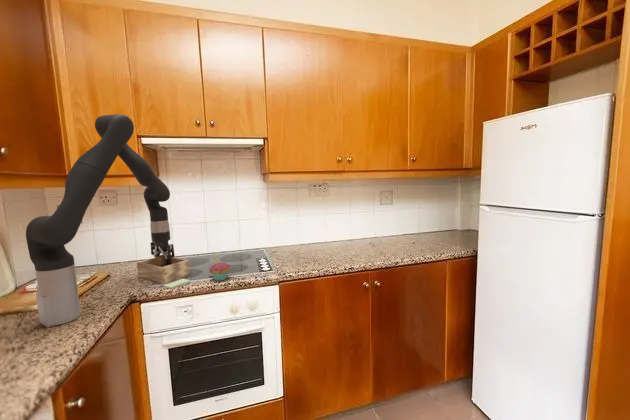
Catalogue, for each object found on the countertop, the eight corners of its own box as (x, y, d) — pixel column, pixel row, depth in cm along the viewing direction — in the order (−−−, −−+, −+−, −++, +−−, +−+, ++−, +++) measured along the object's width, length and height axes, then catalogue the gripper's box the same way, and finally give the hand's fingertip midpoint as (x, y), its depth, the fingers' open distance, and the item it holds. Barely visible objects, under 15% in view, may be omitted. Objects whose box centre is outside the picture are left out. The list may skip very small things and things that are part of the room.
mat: (170, 288, 117) (170, 287, 117) (163, 286, 120) (163, 285, 119) (190, 281, 125) (190, 280, 125) (183, 279, 127) (183, 278, 127)
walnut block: (161, 273, 129) (160, 257, 129) (156, 271, 132) (154, 256, 131) (171, 270, 133) (170, 255, 132) (165, 268, 136) (164, 254, 135)
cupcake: (209, 283, 122) (207, 255, 121) (210, 277, 130) (209, 250, 129) (230, 280, 124) (229, 253, 123) (230, 274, 132) (229, 248, 131)
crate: (162, 284, 122) (161, 268, 122) (138, 277, 132) (136, 262, 131) (190, 275, 133) (188, 260, 133) (165, 269, 143) (164, 255, 142)
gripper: (143, 230, 131) (146, 265, 133) (161, 233, 124) (164, 270, 125) (159, 228, 137) (162, 261, 139) (177, 230, 130) (180, 265, 132)
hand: (163, 265), depth 132 cm, fingers open, 8 cm apart
